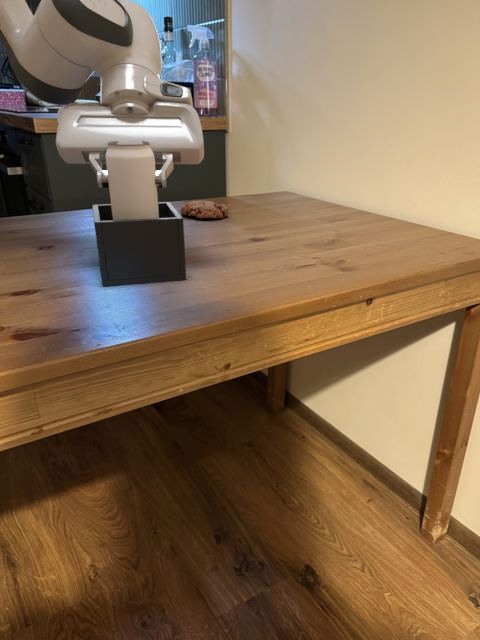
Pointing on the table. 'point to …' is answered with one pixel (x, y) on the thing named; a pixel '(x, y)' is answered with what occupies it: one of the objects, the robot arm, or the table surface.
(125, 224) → the dark grey open box
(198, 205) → the cookie
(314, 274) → the table surface
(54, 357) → the table surface
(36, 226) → the table surface
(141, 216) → the can
